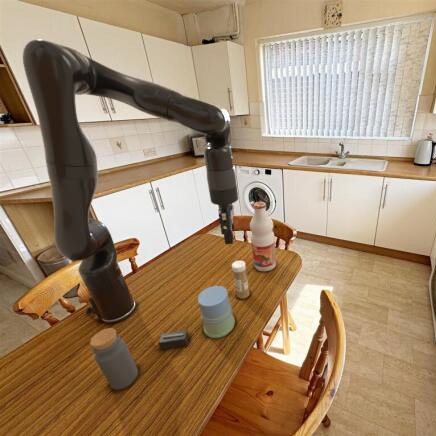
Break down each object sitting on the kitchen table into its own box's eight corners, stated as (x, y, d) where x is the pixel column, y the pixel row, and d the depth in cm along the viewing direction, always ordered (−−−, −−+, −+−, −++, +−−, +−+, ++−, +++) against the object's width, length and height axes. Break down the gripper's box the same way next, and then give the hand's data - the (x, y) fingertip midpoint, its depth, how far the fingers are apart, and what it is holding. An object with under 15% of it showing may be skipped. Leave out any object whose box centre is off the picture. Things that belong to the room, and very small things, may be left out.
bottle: (133, 362, 64) (113, 321, 57) (142, 375, 60) (122, 334, 54) (107, 379, 60) (83, 338, 53) (115, 395, 56) (90, 353, 50)
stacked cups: (201, 340, 69) (192, 309, 64) (206, 315, 77) (199, 286, 72) (233, 335, 70) (227, 304, 65) (235, 311, 78) (230, 282, 73)
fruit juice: (281, 265, 100) (277, 203, 88) (263, 275, 95) (256, 210, 83) (267, 256, 107) (262, 197, 95) (249, 265, 101) (241, 204, 89)
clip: (160, 349, 67) (157, 342, 65) (164, 340, 69) (161, 332, 68) (186, 345, 67) (184, 337, 66) (189, 336, 70) (186, 328, 69)
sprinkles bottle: (251, 295, 85) (247, 264, 79) (239, 301, 82) (234, 269, 77) (246, 288, 88) (242, 258, 82) (234, 293, 86) (229, 262, 80)
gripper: (211, 178, 71) (219, 227, 78) (204, 194, 58) (214, 250, 65) (237, 177, 72) (242, 224, 79) (235, 191, 59) (242, 247, 66)
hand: (230, 236), depth 72 cm, fingers open, 8 cm apart
